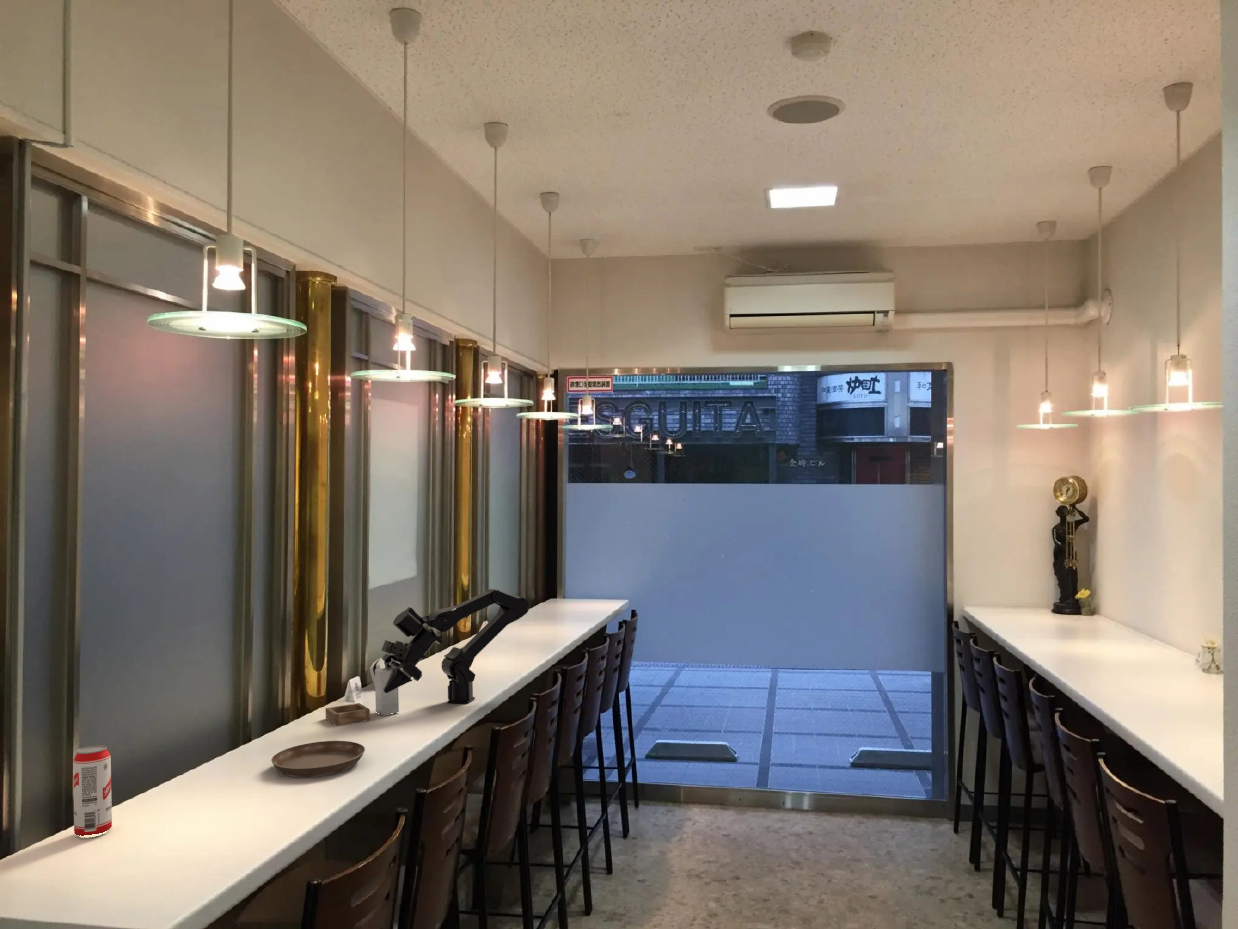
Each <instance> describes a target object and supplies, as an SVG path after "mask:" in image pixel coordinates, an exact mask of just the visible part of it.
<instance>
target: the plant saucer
mask: <svg viewBox="0 0 1238 929" xmlns="http://www.w3.org/2000/svg"><path fill="white" fill-rule="evenodd" d="M365 751H366V747H365V746H364V745H362V744H361V743H358V742H354V741H351V740H349V741H348V740H325V741H314V742H309V743H303V744H299V745H296V746H295V745H294V746H292V747H288V748H285V749H282V750H281V751H279V752H278V753H276V754H274V755H273V756H272V758H271V763H272V765H273V766H274V768H275V769H276V770H277V771H279V772H280V773H281V774H283V775H285V776H287V775H288V776H289V777H292V778H293V777H294V778H317V777H326V776H329V775H335V774H338V773H342V772H344V771H347V770H349V769H351V768H352V767H354V766H356V764H357V763H358V762H359V761H360V759H362V756H363V755H364V753H365ZM288 776H287V777H288Z"/></svg>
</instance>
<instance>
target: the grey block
mask: <svg viewBox="0 0 1238 929" xmlns="http://www.w3.org/2000/svg"><path fill="white" fill-rule="evenodd" d="M393 675H394V668H393V667H388V668H381V669H375V687H374V689H375V694H374V695H375V713H376V712H377V713H379V714H380V715H387V714H391V713H397V712H399V713H400V709H399V706H400V705H399V704H400V703H399V701H400V700H399V687H398V688H396V689H394V690H392V691H390V692H388V693H385V692H384V689H385V688H386V686H387V685H388V683H389V681H390V680H391V678H392V677H393ZM377 713H376V714H377ZM379 714H378V715H379ZM380 715H379V716H380ZM387 716H388V715H387Z"/></svg>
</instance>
